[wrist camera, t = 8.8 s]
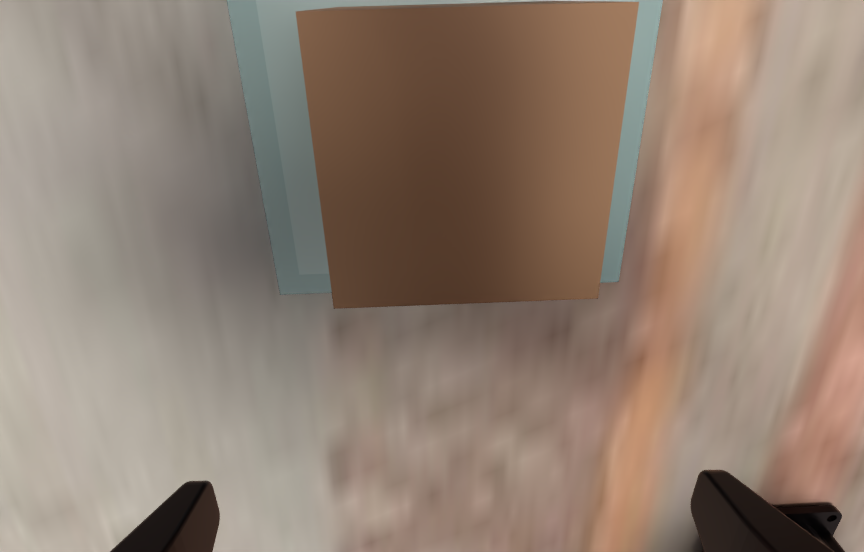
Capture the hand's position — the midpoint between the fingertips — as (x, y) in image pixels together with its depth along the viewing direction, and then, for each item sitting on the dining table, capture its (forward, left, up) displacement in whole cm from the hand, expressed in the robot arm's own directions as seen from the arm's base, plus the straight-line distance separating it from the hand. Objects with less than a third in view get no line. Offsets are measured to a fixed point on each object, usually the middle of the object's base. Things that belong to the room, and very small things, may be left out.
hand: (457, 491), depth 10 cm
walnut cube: (0, -5, -10) cm, 11 cm away
